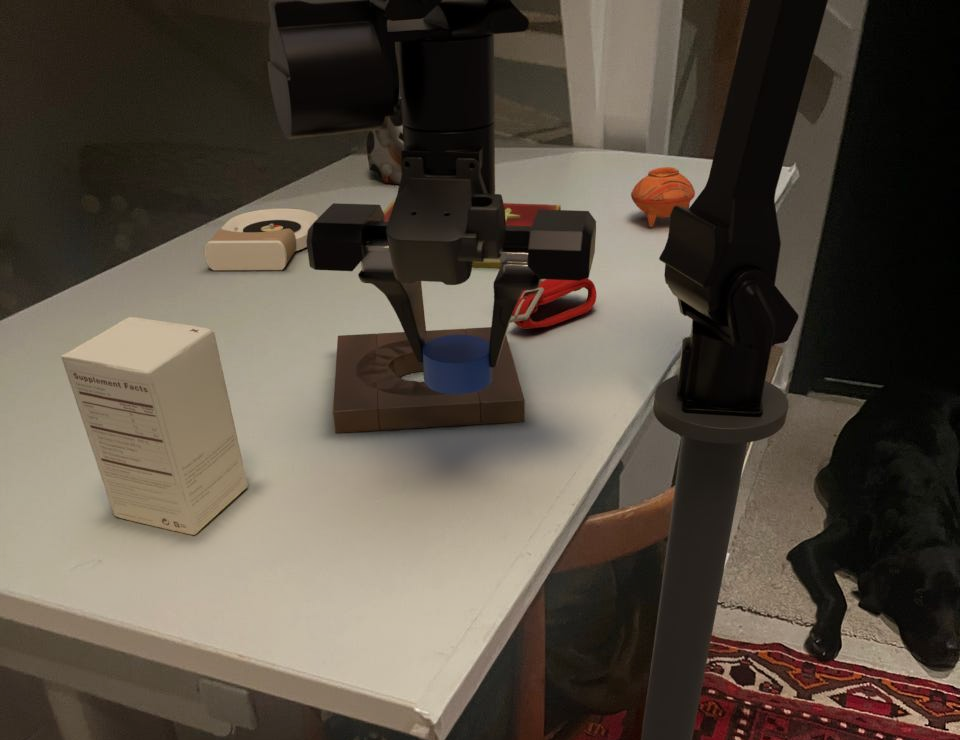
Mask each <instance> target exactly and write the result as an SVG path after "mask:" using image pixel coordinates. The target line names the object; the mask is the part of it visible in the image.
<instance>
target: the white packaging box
mask: <svg viewBox="0 0 960 740" xmlns="http://www.w3.org/2000/svg"><path fill="white" fill-rule="evenodd" d="M217 342H218V341H217V338H216V333H215V330H213V329H211V328H207V327H202V326H197V325H191V324H183V323H178V322H177V323H176V322H168V321H163V320H155V319H149V318H142V317H136V316H128V317H126V318H124V319H122V320H121V321H119V322H118V323H116V324H114V325H113V326H111V327H109V328H107V329H105V330H104V331H102V332H100V333H99V334H97V335H95V336H94V337H92V338H90V339H89V340H87V341H85V342H84V343H81V344H80V345H78V346H77V347H75V348H73V349H71V350H69V351H68V352H66V353H64V354H62V355H61V356H60V358H61V361H62V363H63V366H64V369H65V372H66V376H67V379H68V382H69V385H70V388H71V391H72V394H73V397H74V400H75V402H76V407H77V409H78V412H79V414H80V418H81V421H82V424H83V427H84V429H85V432H86V436H87V438H88V441H89V444H90V447H91V450H92V453H93V456H94V459H95V462H96V466H97V469H98V472H99V474H100V478H101V481H102V483H103V486H104V489H105V492H106V496H107V499H108V501H109V504H110V507H111V510H112V513H113V515H114V516H115V517H117V518H120V519H123V520H127V521H131V522H135V523H139V524H143V525H147V526H151V527H157V528H161V529H165V530H168V531H173V532H178V533H182V534H187V535H192V536H196V535H197V534H198V533H199V532H200V531H202V529H203V528H204V527H205V526H206V525H208V523H210V522H211V521H212V520H213V519H214V518H215V517H216V516H217V515H218V514H219V513H221V512H222V511H223V510H224V509H225V508H226V507H227V506H229V504H230V503H232V502H233V501H234V500H235V499H236V498H237V497H238V496H240V495H241V493H242V492H244V491H245V490H246V489H247V488H248V487H249V483H248V479H247V476H246V471H245V466H244V463H243V461H244V460H243V456H242V453H241V448H240V444H239V438H238V434H237V429H236V424H235V420H234V416H233V411H232V406H231V402H230V398H229V397H230V396H229V393H228V387H227V384H226V379H225V374H224V370H223V365H222V362H221V355H220V351H219V347H218V343H217Z"/></svg>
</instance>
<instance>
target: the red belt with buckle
mask: <svg viewBox="0 0 960 740" xmlns="http://www.w3.org/2000/svg"><path fill="white" fill-rule="evenodd" d="M583 288H585V289H586V290H587V297H586V299H585V301H584V302H583V303H582V304H580V305H578V306H575V307H573V308H570V309H567V310H564V311H562V312H560V313H557V314H554V315H552V316H548V317H546V318H543V319H541V320H538V321H533V320H532V318H531V315H532V314H533V313H537V311H538V310H539V309H538V306H542V305H547V304H549V303H552V302H553V301H556V300H558V299H560V298H562V297H565V296H566V295H569V294H571V293H572V292H577V291H580V290H582V289H583ZM596 300H597V289H596V285H595V283H594V282H593V281H592V280H591V279H589V278H587V279H583V280H580V281H577V280H552V279H542V280H541V283H540V286H539V287H538V288H537V289H534V290H524V291H523V292H522V294H521V296H520V298H519V300H518V302H517V304H516V306H515V308H514V310H513V313H512V317H511V320H510V323H514V324H515V325H516V326H517V327H518V328H521V329H523V330H529V329H539V328H546V327H550V326H554V325H556V324H560V323H563V322H565V321H568V320H571V319H572V318H575V317H578V316H580V315H583V314H586V313H588V312H589V311H590V310H591V309H592V308H593V307H594V306H595V304H596ZM510 323H509V324H510Z"/></svg>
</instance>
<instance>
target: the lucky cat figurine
mask: <svg viewBox="0 0 960 740" xmlns="http://www.w3.org/2000/svg"><path fill="white" fill-rule="evenodd" d="M402 123H403V122H402V107H401V96H399V98H398V104H397V106H396V108H395V109H394V114H393V116H388V117H385V119H384V123H383V126H382V127H381V129H379V130H370V131H368V133H367V136H366V142H365V143H366V147H365V148H366V156H367V161H368V169H369V171H371V172H372V173H376V174H377V176H378V177H379V179H380V180H381V182H383V183H384V184H391V185H398V186H399V185H400V180H401V176H402V172H401V161H402V155H401V150H402V149H403V148H404V141H403V125H402Z"/></svg>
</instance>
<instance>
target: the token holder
mask: <svg viewBox="0 0 960 740" xmlns="http://www.w3.org/2000/svg"><path fill="white" fill-rule="evenodd" d="M448 335H471V336H476V337H480V338H482V339H485V340H486V341H488V342H489V343H490V335H491V326H486V327H467V328H452V329H451V328H450V329H434V330H433V329H432V330H426V336H427V342H429V341H431V340H433V339H435V338H438V337H442V336H448ZM336 342H337V343H336V358H335V372H334V387H333V399H332V400H333V402H332V417H333V424H334V425H333V426H334V432H335V433H336V434H343V433H358V432H374V431H375V432H377V431H390V430H391V431H392V430H409V429H424V428H426V429H427V428H439V427H440V428H441V427H456V426H472V425H474V426H475V425H491V424H492V425H493V424H505V423H506V424H507V423H508V424H509V423H525V418H526V417H525V415H526V410H525V409H526V399H525V396H524V392H523V389H522V386H521V382H520V379H519V375H518V372H517V368H516V365H515V361H514V357H513V354H512V350H511V347H510V344H509V340H508V337H507V335H506V336H505V339H504V342H503V345H502V348H501V352H500V355H499V358H498V361H497V364H496V367H492V381H491V383H490V384H489V385H488V386H487V387H486V388H484V389H482V390H479V391H476V392H473V393H467V394H445V393H440V392H437V391H434V390H432V389H430V388H429V387H428V386H427V385H426V384H425V381H417V380H415V381H414V380H407V379H402V378H401V377H404V376H405V375H409V374H413V373H416V372H424V368H423V363H418V362H417V359H416V357H415V355H414V353H413V350H412V348H411V346H410V343H409V341H408V339H407V337H406V334H405V332H404V331H397V332H380V333H361V334H345V335H344V334H343V335H338V336H337V341H336ZM427 342H426V343H427Z"/></svg>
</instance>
